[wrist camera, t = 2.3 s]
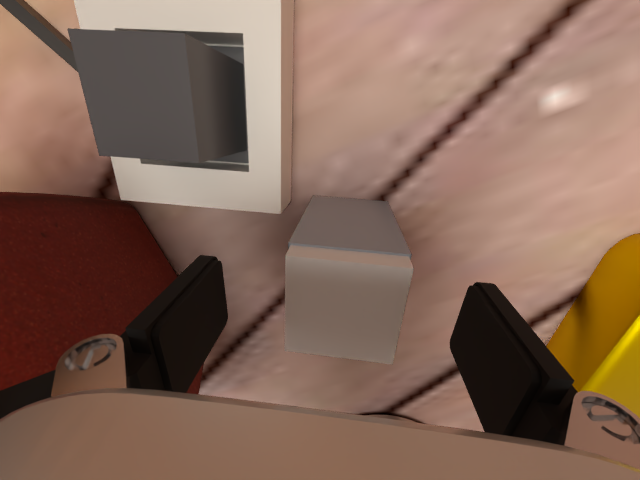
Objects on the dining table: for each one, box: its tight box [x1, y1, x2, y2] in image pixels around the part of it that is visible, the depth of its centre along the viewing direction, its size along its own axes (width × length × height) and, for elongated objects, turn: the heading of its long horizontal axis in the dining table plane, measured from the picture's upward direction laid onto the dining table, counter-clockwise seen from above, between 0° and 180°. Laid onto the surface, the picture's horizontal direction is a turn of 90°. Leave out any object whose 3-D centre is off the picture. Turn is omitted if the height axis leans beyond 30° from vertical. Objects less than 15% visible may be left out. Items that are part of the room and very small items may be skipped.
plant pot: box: [0, 192, 204, 394], centre depth 16 cm, size 19×19×17 cm
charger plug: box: [285, 195, 414, 365], centre depth 15 cm, size 5×5×9 cm
